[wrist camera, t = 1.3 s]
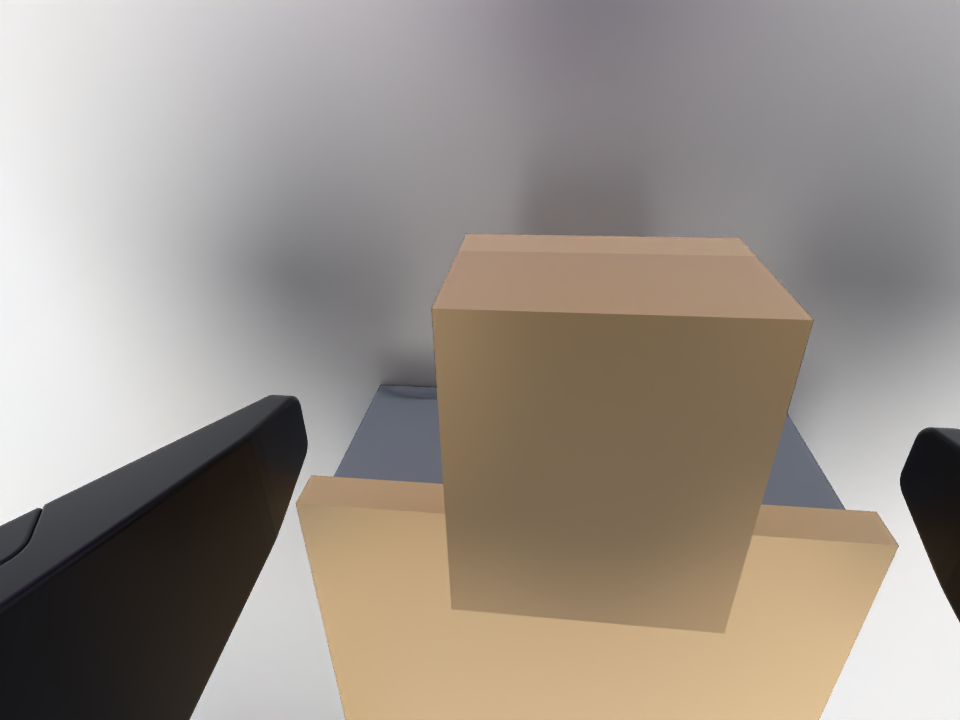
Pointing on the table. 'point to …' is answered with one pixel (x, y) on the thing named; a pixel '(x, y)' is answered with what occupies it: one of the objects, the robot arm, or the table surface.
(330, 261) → the table surface
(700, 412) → the tan board with handle
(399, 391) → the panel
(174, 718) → the robot arm
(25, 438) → the table surface
